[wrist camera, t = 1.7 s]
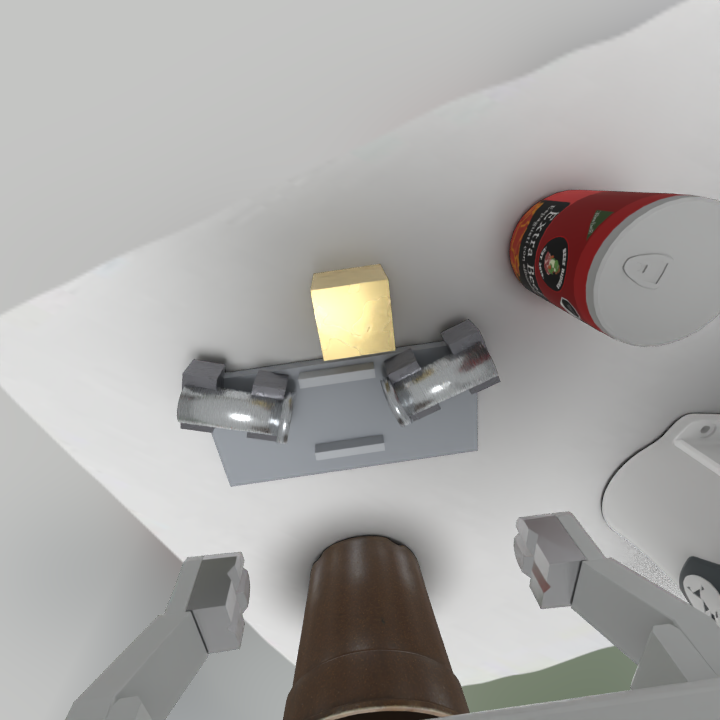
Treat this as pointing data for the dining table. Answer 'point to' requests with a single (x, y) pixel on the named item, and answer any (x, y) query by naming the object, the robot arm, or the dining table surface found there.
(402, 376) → the shaft
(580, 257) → the canned food
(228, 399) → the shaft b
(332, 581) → the plant pot
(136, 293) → the dining table surface
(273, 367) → the grey base plate
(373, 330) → the golden yellow cube
